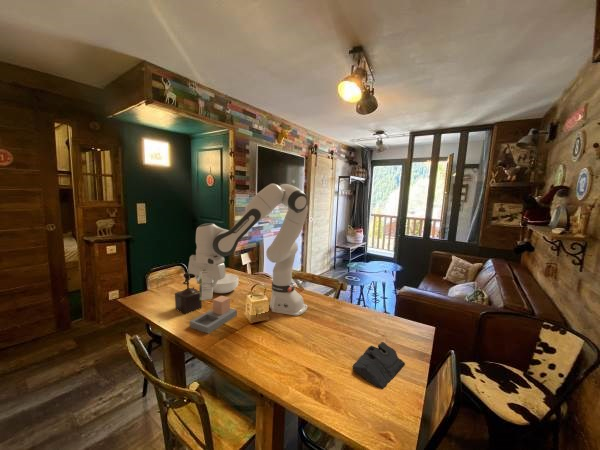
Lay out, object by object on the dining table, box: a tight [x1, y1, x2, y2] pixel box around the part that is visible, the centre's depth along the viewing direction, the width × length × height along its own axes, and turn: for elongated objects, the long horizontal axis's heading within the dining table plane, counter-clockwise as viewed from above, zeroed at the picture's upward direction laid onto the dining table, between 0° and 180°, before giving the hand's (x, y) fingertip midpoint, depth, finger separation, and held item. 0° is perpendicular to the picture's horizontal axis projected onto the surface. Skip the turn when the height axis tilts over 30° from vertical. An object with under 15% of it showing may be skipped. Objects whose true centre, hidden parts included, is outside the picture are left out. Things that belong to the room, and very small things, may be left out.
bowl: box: [213, 273, 239, 294], centre depth 163 cm, size 20×20×8 cm
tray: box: [189, 295, 238, 334], centre depth 124 cm, size 20×12×10 cm, turn 154°
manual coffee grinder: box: [174, 272, 203, 315], centre depth 138 cm, size 16×11×18 cm
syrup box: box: [199, 270, 214, 301], centre depth 118 cm, size 6×6×14 cm
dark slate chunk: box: [351, 341, 406, 390], centre depth 96 cm, size 15×22×5 cm
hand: (206, 285), depth 118 cm, fingers closed on syrup box, 8 cm apart
